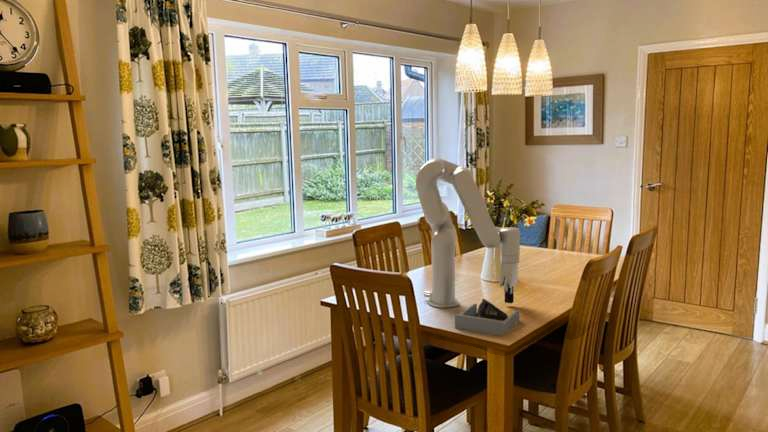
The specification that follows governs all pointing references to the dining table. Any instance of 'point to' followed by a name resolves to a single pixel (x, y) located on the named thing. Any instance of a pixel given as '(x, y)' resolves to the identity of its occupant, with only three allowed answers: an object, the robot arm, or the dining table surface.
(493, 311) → the chocolate cake
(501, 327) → the box
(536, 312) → the dining table surface
